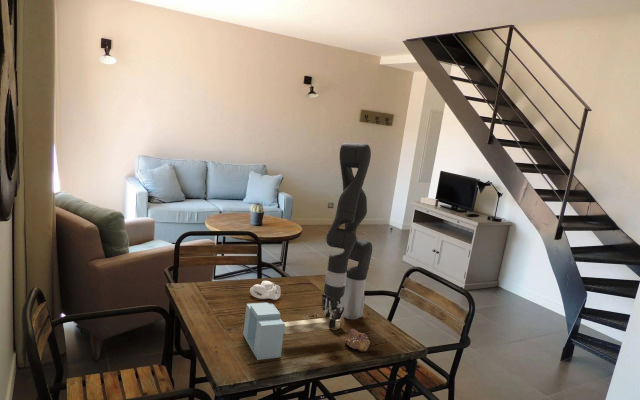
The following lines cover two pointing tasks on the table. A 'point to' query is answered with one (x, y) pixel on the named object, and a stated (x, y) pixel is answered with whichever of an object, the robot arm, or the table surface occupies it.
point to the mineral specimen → (357, 340)
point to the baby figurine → (266, 290)
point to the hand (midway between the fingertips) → (329, 325)
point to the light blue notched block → (263, 330)
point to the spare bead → (340, 323)
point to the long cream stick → (308, 325)
